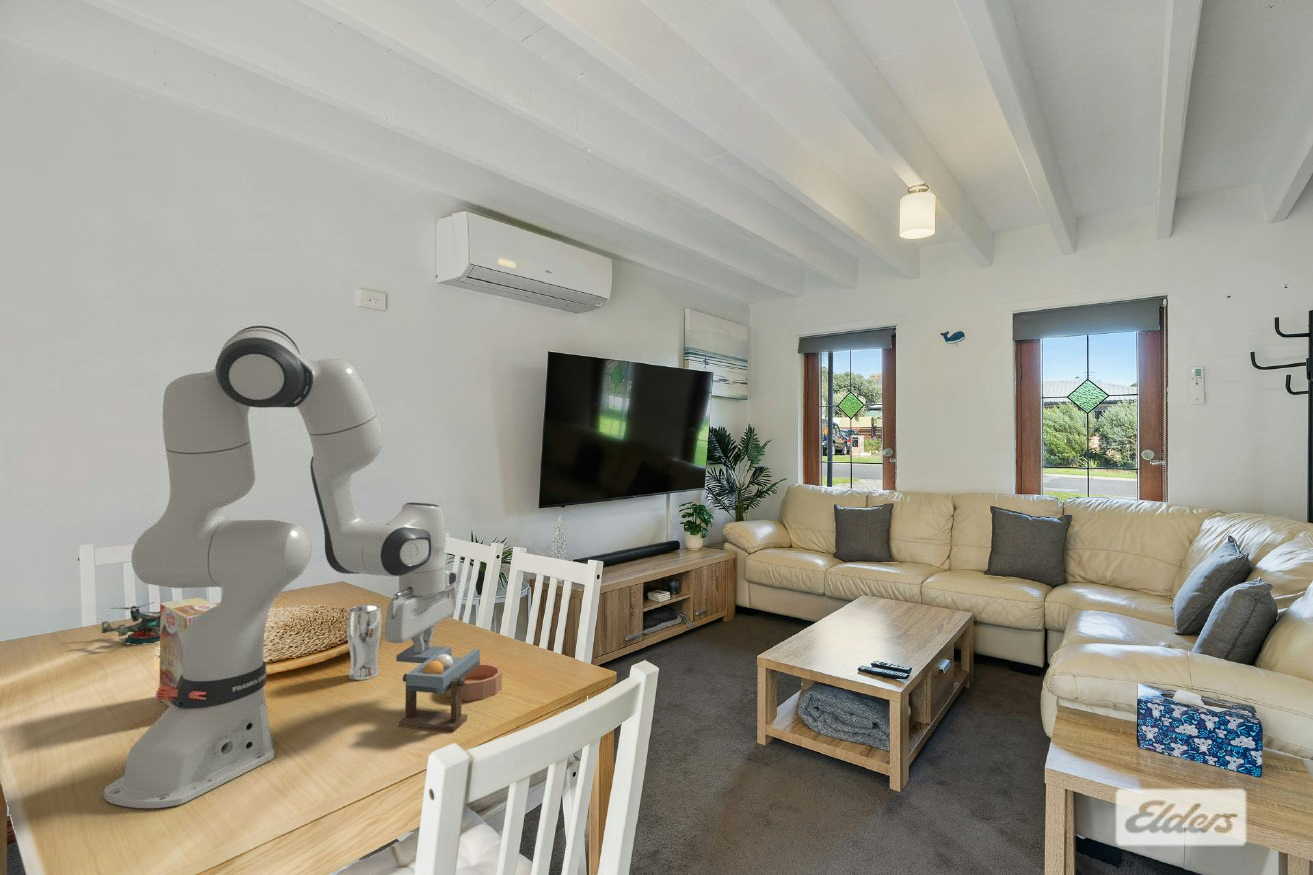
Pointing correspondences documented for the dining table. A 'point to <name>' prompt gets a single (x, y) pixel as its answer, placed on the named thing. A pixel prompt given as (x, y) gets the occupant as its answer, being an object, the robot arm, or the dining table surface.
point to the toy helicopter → (138, 627)
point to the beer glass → (364, 640)
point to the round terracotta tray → (481, 682)
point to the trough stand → (433, 718)
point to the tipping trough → (436, 681)
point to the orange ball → (433, 668)
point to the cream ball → (445, 661)
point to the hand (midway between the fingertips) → (422, 650)
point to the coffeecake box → (176, 637)
